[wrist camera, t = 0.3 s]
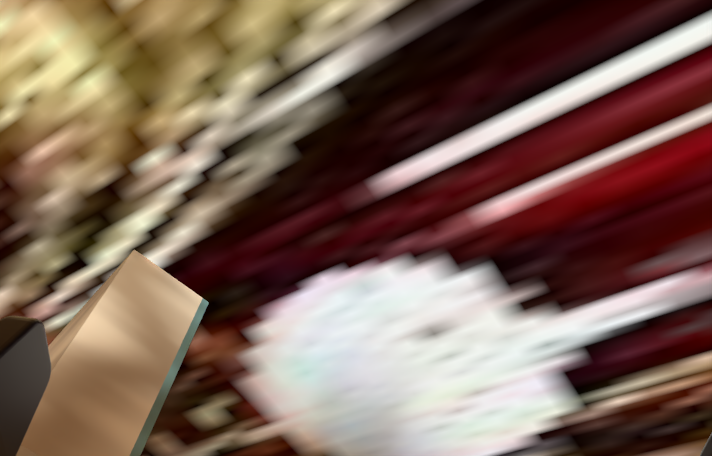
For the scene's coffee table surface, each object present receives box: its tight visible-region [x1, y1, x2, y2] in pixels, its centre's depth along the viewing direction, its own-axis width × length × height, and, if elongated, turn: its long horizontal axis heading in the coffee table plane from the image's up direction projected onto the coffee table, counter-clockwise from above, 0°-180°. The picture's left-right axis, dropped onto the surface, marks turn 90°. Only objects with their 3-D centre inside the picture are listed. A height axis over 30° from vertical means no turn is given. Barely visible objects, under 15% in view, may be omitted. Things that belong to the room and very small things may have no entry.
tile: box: [16, 250, 209, 456], centre depth 24 cm, size 4×8×9 cm, turn 138°
